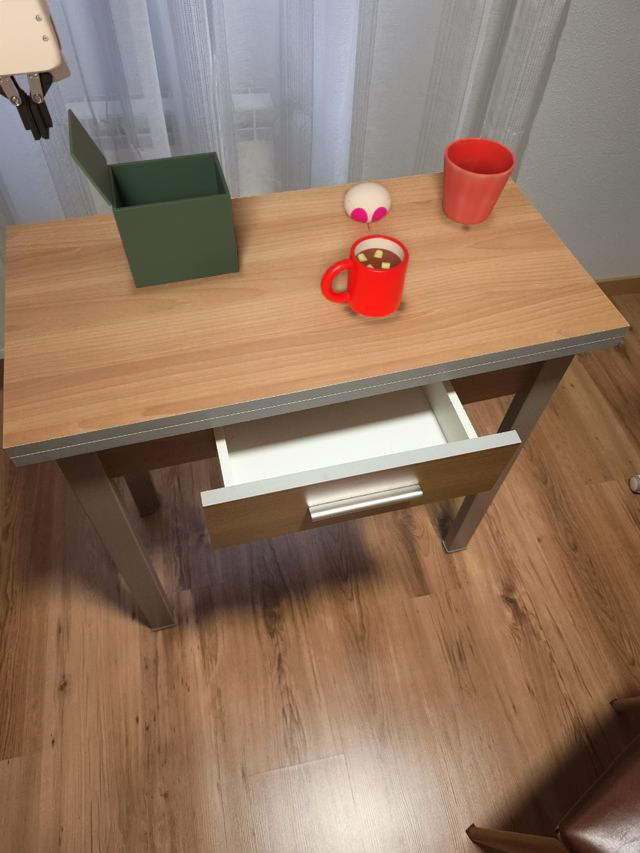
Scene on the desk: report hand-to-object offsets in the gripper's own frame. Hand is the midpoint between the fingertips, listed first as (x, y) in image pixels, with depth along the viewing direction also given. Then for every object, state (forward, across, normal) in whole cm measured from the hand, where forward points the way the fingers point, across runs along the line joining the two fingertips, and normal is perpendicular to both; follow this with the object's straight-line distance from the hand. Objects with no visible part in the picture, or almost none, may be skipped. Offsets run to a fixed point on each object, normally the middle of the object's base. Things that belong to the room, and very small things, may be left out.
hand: (42, 133), depth 67 cm
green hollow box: (+20, -13, 0) cm, 24 cm away
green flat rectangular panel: (+3, -5, 0) cm, 6 cm away
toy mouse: (+21, -43, -2) cm, 48 cm away
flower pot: (+21, -60, 0) cm, 64 cm away
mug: (+20, -36, +16) cm, 45 cm away
